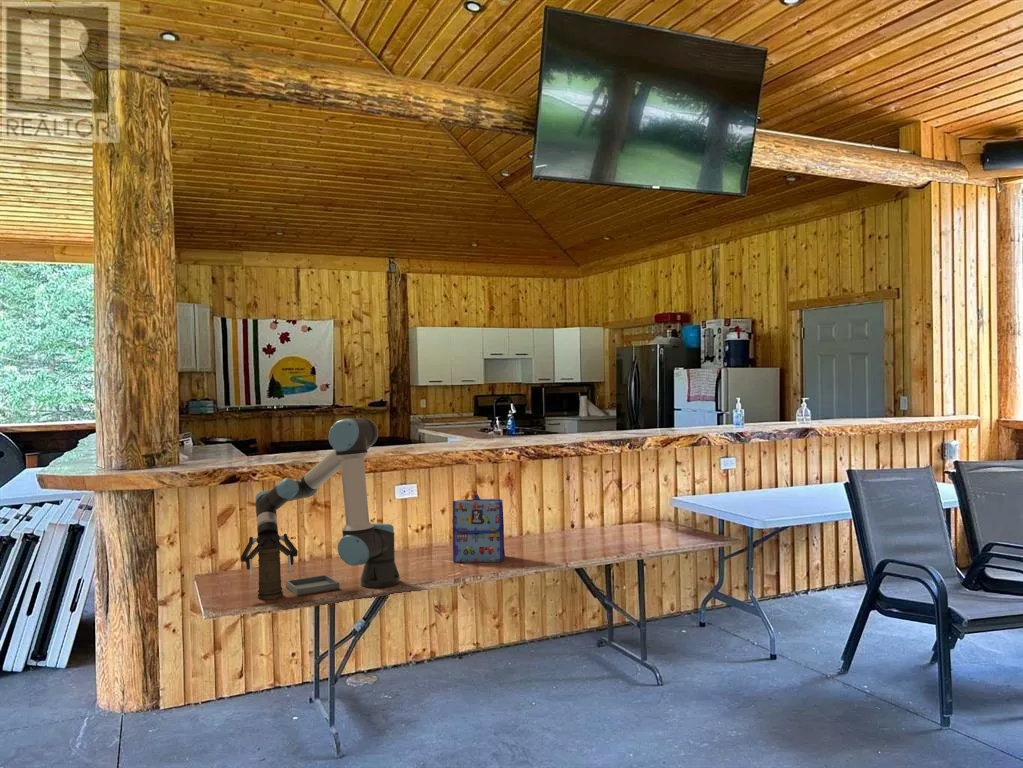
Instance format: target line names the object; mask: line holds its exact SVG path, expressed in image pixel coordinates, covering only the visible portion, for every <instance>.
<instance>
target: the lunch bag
mask: <svg viewBox="0 0 1023 768" xmlns="http://www.w3.org/2000/svg"><path fill="white" fill-rule="evenodd" d="M504 521H505V520H504V504H503V499H501V498H500V499H499V498H490V499H489V498H480V496H479V494H478V493H475V494H474V496H473V499H463V500H462V499H461V500H460V499H459V500H458V499H457V500H453V501H452V521H451V523H452V561H453V562H452V563H503V561H504V559H503V558H504V557H505V556H506V552H505V527H504V524H505V523H504ZM503 556H504V557H503Z"/></svg>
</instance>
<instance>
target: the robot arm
mask: <svg viewBox="0 0 1023 768" xmlns="http://www.w3.org/2000/svg"><path fill="white" fill-rule="evenodd" d="M378 437H379V429H378V426H377V424H376V423H375V422H374V421H373V420H372V419H370V418H367V417H357V418H356V417H355V418H353V417H352V418H343V419H340V420H337V421H336V422H334V423H333V425H332V426H331V427H330V429H329V432H328V443H329V445H330V446H331V447H332V449H333V450H332V451H330V452H329V453H328V454H327V455H326V456H325V457H323V458H322V459H321V460H320V461H319V462H318V463H317V464H315V466H313V467H312V468H310V470H308V471H307V472H306V473H305V474H304V475H303V476H301V477H300V478H299V479H298V480H297V479H296V480H294V479H293V478H289V477H287V478H284V479H283V480H281V481H279V482H278V483H277V484H276V485H275V486H274V487H272V489H271V490H268V489H267V490H262V491H260V492H259V491H258V493H257V494H256V496H255V502H254V503H255V504H254V507H255V515H256V517H255V518H256V527H257V528H256V533H257V537H255V538H254V537H253V536H249V538H248V543H247V545H246V547H245V548H244V550H243V552H242V554H241V556H240V563H241V562H242V563H243V562H245V565H246V570H249V576H250V577H249V579H253V576H254V575H253V573H254V572H253V559H254V558H255V556H257V555H258V552H257V549H258V548H260V547H265V546H280V547H281V550H280V553H283V554H284V555H285V556H287V566H288V567H287V568H288V575H291V574H292V566H294V562H295V561H294V557H298V555H299V554H298V549H297V548H296V547H295V546H294V544H293V543H292V542H291V541H290V539H289V536H288V534H287V533H284V534H283V535H279V527H278V517H277V515H278V514H277V511H278V510H279V509H280V508H281V507H283V506H284V505H285V504H286V503H287V502H292V501H296V500H302V499H306V498H307V499H308V498H310V497H313V496H314V495H316V493H317V491H318V489H319V488H320V487H321V486H322V485H323V484H324V483H326V482H327V481H328V480H329V479H331V477H333V476H334V475H335V474H337V472H339V471H340V470H341V471H340V472H341V482H342V493H343V503H344V504H343V505H344V515H345V516H344V517H345V525H344V526H343V528H342V529H341V532H342V537H341V538H340V539H339V541H338V542H337V543H338V544H337V552H338V553H337V554H338V556H339V558H340V559H341V561H343V562H344V563H345V564H347V565H349V566H355V567H356V566H359V565H360V566H362V565H363V569H362V572H361V575H360V578H359V580H360V585H361V586H362V587H365V588H375V589H376V588H387V587H392V586H395V585H398V584H399V583H400V582H401V579H400V576H401V575H400V573H399V570H398V568H397V565H396V560H395V554H396V553H395V528H394V526H393V524H391V523H372V522H371V521H370V515H369V502H368V492H367V478H366V465H365V458H366V456H367V454H368V450H369V449H370V448H371V447H372V446H373V445H374V444H375V443H376V442H377V440H378ZM280 541H282V542H283V543H284V544H282V543H281V542H280ZM255 543H257V545H256V546H255V547H254V548H253V545H255ZM252 548H253V549H252ZM251 549H252V550H251Z"/></svg>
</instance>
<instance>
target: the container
mask: <svg viewBox="0 0 1023 768" xmlns="http://www.w3.org/2000/svg"><path fill="white" fill-rule="evenodd" d="M280 550H281V547H280V546H265V547H260V548H258V549H257V552H258V553H257V557H258V560H257V562H258V591H257V593H258V594H257V598H258V599H259V600H266V601H267V600H275V599H276V600H277V599H279V598H281V597H283V595H284V592H283V591H282V590H283V587H282V579H281V556H280V555H281V551H280Z"/></svg>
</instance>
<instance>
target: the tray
mask: <svg viewBox="0 0 1023 768" xmlns="http://www.w3.org/2000/svg"><path fill="white" fill-rule="evenodd" d="M340 585H341V584H340V582H339V581H337V580H336V579H334V578H333V577H331V576H330V575H327V574H322V575H321V574H320V575H315V576H308V577H303V578H296V579H295V578H294V579H290V580H289V579H288V580H285V588H286V589H287V590H288V591H290V592H291V591H292V592H291V593H293V594H294V595H295V594H296V595H295V596H297V597H299V596H298V595H301V596H306V595H305V594H307V595H312V593H313V594H318V593H317V592H319V593H324V592H323V591H325V592H329V590H331V591H335V590H334V589H337V590H341V589H340Z"/></svg>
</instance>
